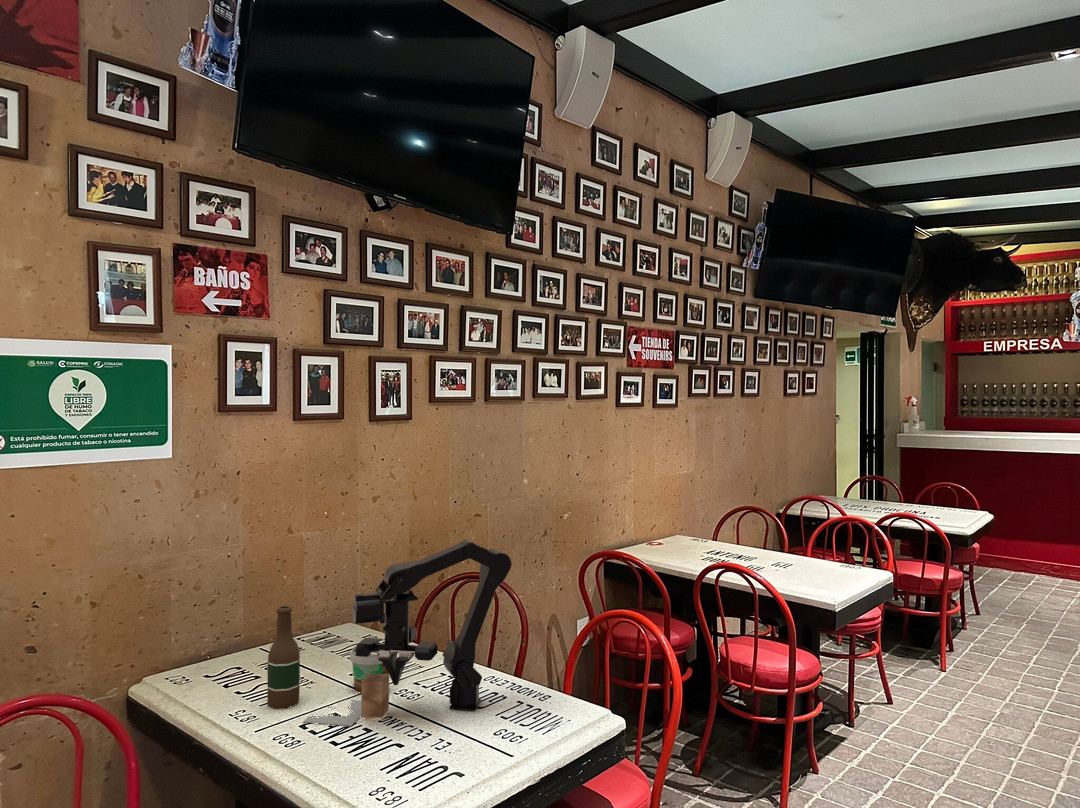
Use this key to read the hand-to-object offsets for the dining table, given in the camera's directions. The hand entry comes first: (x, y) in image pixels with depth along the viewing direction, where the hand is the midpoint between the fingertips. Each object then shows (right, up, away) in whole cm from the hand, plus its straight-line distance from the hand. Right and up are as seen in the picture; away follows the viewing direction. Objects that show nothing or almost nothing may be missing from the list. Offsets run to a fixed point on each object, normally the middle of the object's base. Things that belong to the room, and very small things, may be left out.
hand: (396, 684), depth 175 cm
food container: (-11, -8, +16) cm, 21 cm away
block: (-5, -8, +1) cm, 9 cm away
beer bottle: (-29, -8, +7) cm, 31 cm away
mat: (-14, -8, +2) cm, 16 cm away
